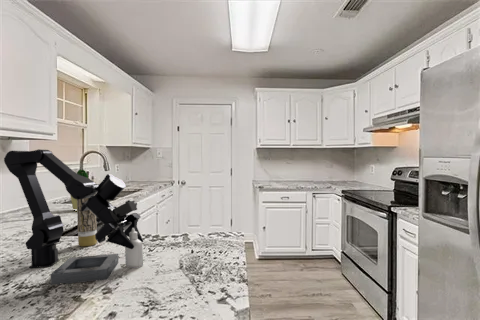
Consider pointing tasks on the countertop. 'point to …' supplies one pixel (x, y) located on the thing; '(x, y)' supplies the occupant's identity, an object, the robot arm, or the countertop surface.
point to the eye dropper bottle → (134, 251)
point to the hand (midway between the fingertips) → (137, 245)
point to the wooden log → (86, 225)
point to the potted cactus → (74, 201)
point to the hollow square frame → (85, 269)
